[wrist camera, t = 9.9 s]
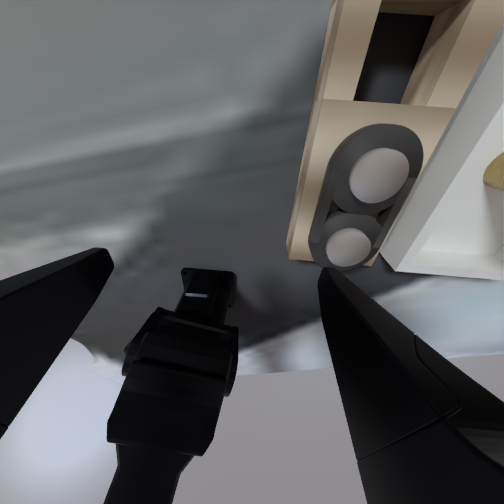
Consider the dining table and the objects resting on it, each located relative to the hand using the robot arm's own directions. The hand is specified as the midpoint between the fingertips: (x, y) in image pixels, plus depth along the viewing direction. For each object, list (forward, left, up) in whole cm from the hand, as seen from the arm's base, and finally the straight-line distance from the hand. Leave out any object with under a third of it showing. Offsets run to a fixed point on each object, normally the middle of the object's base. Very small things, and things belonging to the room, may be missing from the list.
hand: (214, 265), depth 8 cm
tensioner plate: (+3, -9, -12) cm, 15 cm away
